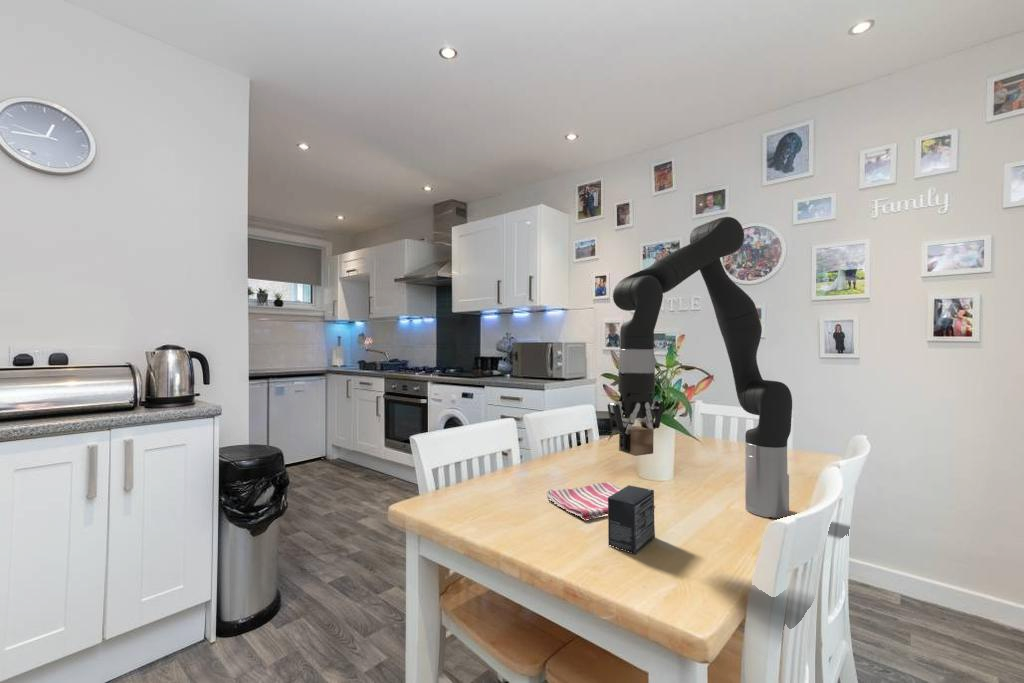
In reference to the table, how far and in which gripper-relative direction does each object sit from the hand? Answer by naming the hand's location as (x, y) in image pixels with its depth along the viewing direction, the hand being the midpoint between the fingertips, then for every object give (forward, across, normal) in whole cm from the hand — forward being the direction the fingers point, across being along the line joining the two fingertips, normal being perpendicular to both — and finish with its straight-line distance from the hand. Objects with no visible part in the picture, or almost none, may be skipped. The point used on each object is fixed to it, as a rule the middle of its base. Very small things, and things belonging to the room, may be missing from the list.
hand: (635, 449), depth 94 cm
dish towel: (+21, -8, -23) cm, 32 cm away
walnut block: (0, 0, 0) cm, 0 cm away
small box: (+20, 0, -1) cm, 20 cm away
